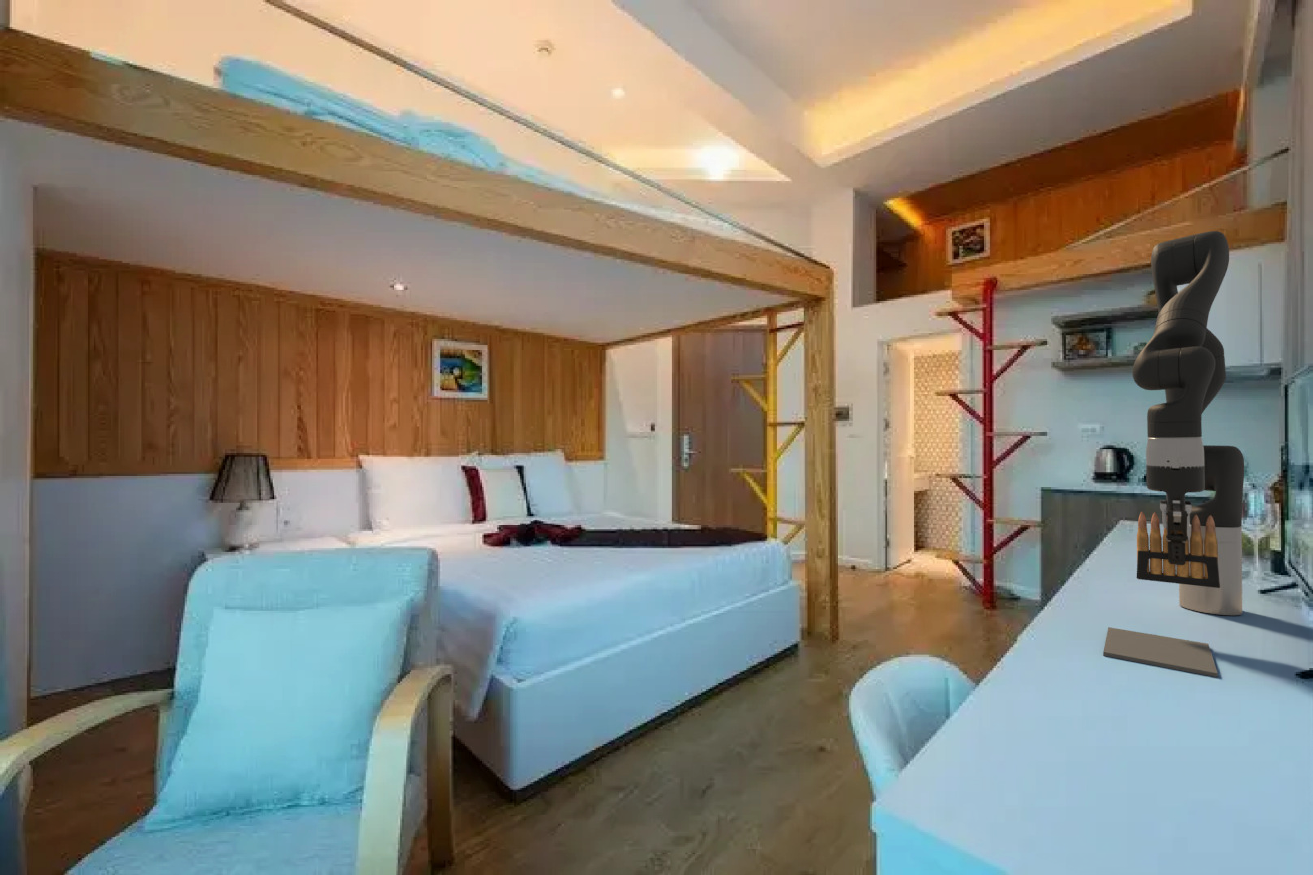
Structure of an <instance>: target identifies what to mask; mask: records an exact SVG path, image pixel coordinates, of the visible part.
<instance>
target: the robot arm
mask: <svg viewBox="0 0 1313 875" xmlns="http://www.w3.org/2000/svg"><path fill="white" fill-rule="evenodd" d="M1228 243H1229V242H1228V240H1227V238H1226V235H1225V234H1224V233H1223V232H1221V231H1219V230H1218V231H1217V230H1212V231H1211V230H1210V231H1204V232H1200V233H1195V234H1192V235H1188V236H1187V235H1186V236H1184V237H1179V238H1175V239H1170V240H1166V241H1162V242H1159V243H1157V244H1156V245H1155V246H1154V247H1153V249H1152V252H1151V257H1150V258H1151V259H1150V265H1151V273H1152V274H1151V276H1152V281H1153V286H1154V293H1155V297H1156V298H1155V299H1156V305H1157V310H1158V314H1157V318H1156V322H1155V326H1154V331H1153V335H1152V337H1151V338H1150V339H1149V341H1148V342H1147V343H1146V345H1145V346H1144V347H1143V348H1142V350H1141V351H1140V352H1139V353H1138V355H1137V357H1136V358H1135V361H1134V363H1133V366H1132V378H1133V381H1134V382H1135V384H1136V385H1137V386H1138V387H1139V388H1141V389H1144V390H1145V391H1162V390H1164V392H1165V394H1164V395H1165V401H1166V402H1163V403H1158V404H1154V405H1152V406H1150V407H1149V408H1148V409H1147V415H1146V421H1147V424H1146V425H1147V427H1146V428H1147V443H1146V447H1145V448H1146V450H1145V460H1146V461H1145V462H1146V464H1145V467H1146V470H1145V473H1146V476H1145V477H1146V488H1147V489H1148V490H1149V491H1154V492H1163V493H1165V499H1164V500H1161V499H1160V500H1159V509H1160V511H1161V512H1162V513H1161V516H1162V517H1161V518H1162V527H1163V529H1164V528H1166V529H1167V535H1166V540H1167V542H1168V562H1169V563H1170V564H1175V565H1184V564H1185V563H1186V560H1185V543H1186V541H1187V539H1188V540H1189V553H1190V537H1191V525H1192V520H1193V517H1194V515H1197V516H1198V518H1199V521H1200V526H1201V536H1202V539H1203V555H1204V539H1205V532H1206V522H1207V519H1208V517H1209V515H1211V516H1212V518H1213V520H1214V523H1215V532H1216V538H1217V543H1218V570H1219V581H1220V588H1214V587H1205V586H1195V585H1186V584H1179V586H1178V590H1179V591H1178V593H1179V595H1178V598H1179V600H1178V601H1179V602H1178V603H1179V606H1180V607H1182V608H1185V609H1188V610H1190V611H1191V610H1192V611H1196V612H1201V613H1205V614H1211V615H1222V616H1240V615H1242V614H1243V542H1242V540H1243V539H1242V538H1243V537H1242V536H1243V533H1242V532H1243V531H1242V528H1243V525H1242V524H1243V522H1242V518H1243V502H1244V501H1243V499H1244V498H1243V494H1244V482H1245V459H1244V456H1243V453H1242V451H1241V450H1240V448H1238V447H1237V446H1234V445H1213V444H1212V445H1210V444H1209V445H1204V443H1203V438H1202V436H1203V435H1202V433H1203V432H1202V430H1203V429H1202V417H1203V415H1202V414H1204V412H1205V410H1206V409H1207V408H1208V407H1209V405H1210V404H1211V402H1213V401H1214V399H1215V397H1216V396H1217V395H1218V393H1219V392H1220V391H1221V389H1222V388H1223V386H1224V384H1225V381H1226V378H1227V375H1226V374H1227V373H1226V371H1227V370H1226V360H1225V359H1226V358H1225V348H1224V345H1223V344H1222V342H1221V341H1220V339H1219V338H1218V337H1217V336H1216V335H1215V334H1214V333H1213V332H1212V331H1211V330H1210V329H1208V322H1209V315H1210V311H1211V308H1212V305H1213V303H1214V301H1215V299H1216V297H1217V295H1218V293H1219V291H1220V288H1221V286H1222V284H1223V282H1224V279H1225V277H1226V273H1227V271H1228V268H1229V263H1230V248H1229V244H1228ZM1183 285H1186V286H1185V287H1184V288H1182V289H1181V290H1179V291H1178V286H1183ZM1204 491H1208V492H1215V494H1214V497H1213V498H1212V499H1211V500H1209V501H1207V502H1205V503H1201V504H1198V505H1192V502H1191V501H1188V500H1186V497H1185V496H1186V494H1188V493H1201V492H1204ZM1172 530H1173V532H1174V533H1171V531H1172ZM1177 530H1179V531H1182V534H1178V533H1177ZM1189 572H1190V562H1189ZM1204 577H1205V567H1204Z"/></svg>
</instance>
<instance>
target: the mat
mask: <svg viewBox="0 0 1313 875" xmlns="http://www.w3.org/2000/svg"><path fill="white" fill-rule="evenodd" d="M1102 652H1103V653H1102V654H1103V655H1102V656H1104V657H1107V658H1108V657H1109V658H1114V659H1120V660H1124V661H1130V662H1136V663H1140V664H1146V665H1150V666H1155V667H1160V668H1165V669H1172V670H1175V671H1176V670H1177V671H1181V672H1182V671H1183V672H1186V673H1187V672H1188V673H1191V674H1192V673H1193V674H1198V675H1203V676H1208V677H1214V678H1218V677H1219V676H1218V674H1219V673H1218V670H1217V667H1216V664H1215V661H1214V657H1213V654H1212V651H1211V647H1210V645H1209V643H1208V642H1207V643H1206V642H1201V641H1194V640H1189V639H1182V638H1175V637H1170V636H1166V635H1165V636H1164V635H1157V634H1152V633H1146V632H1141V631H1140V632H1139V631H1134V630H1128V629H1121V628H1115V627H1110V626H1109V627H1108V628H1107V632H1106V638H1105V642H1104V646H1103V651H1102Z"/></svg>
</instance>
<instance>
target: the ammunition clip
mask: <svg viewBox="0 0 1313 875" xmlns="http://www.w3.org/2000/svg"><path fill="white" fill-rule="evenodd" d="M1150 520H1151V521H1150V533H1148V526H1147V525H1148V524H1147V518H1146V515H1145V513H1144V511H1140V513H1139V517H1138V520H1137V521H1138V523H1137V533H1136V579H1137V580H1143V581H1151V582H1152V581H1153V582H1158V583H1159V582H1162V583H1169V584H1177V585H1178V584H1186V585H1195V586H1205V587H1214V588H1220V581H1219V570H1218V543H1217V538H1216V532H1215V523H1214V520H1213V518H1212V516H1211V515H1209V517H1208V519H1207V522H1206V532H1205V539H1204V555H1203V539H1202V536H1201V526H1200V521H1199V518H1198V516H1197V515H1194V517H1193V520H1192V525H1191V537H1190V553H1189V540H1188V539H1187V541H1186V543H1185V560H1186V563H1185V564H1184V565H1175V564H1170V563H1169V562H1168V542H1167V540H1166V535H1167V529H1166V528H1164V527H1163V535H1162V534H1161V526H1160V518H1159V516H1158V514H1157V512H1153V513H1152V516H1151V519H1150ZM1171 533H1174V532H1173V530H1172V531H1171ZM1177 533H1178V534H1182V531H1179V530H1177ZM1189 562H1190V572H1189ZM1204 567H1205V577H1204Z"/></svg>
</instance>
